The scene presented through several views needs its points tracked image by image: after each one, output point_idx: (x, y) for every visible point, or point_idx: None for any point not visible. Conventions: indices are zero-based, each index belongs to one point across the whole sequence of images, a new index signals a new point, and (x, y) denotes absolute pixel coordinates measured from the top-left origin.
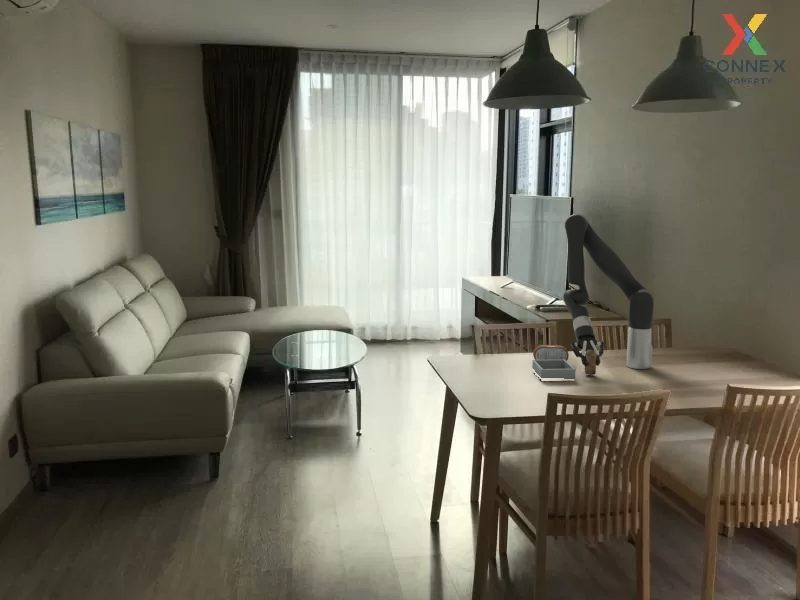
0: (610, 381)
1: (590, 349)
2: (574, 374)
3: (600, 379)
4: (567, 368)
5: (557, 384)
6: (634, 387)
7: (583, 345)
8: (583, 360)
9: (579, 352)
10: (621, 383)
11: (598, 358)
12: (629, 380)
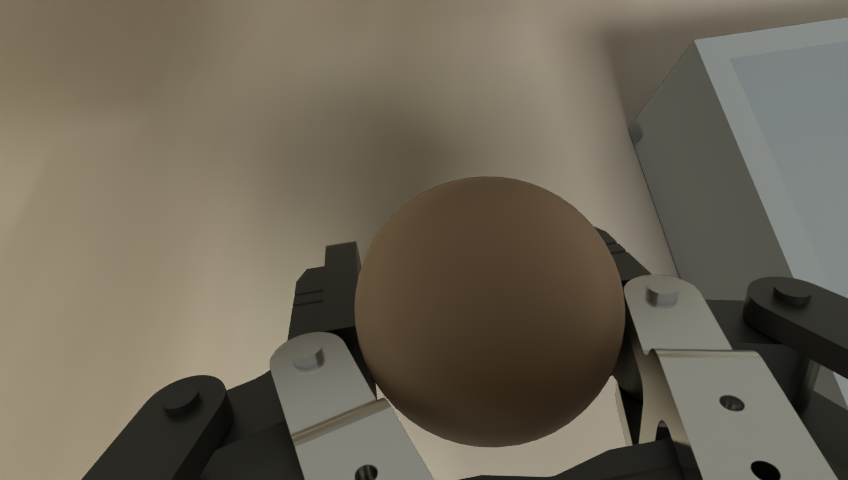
0: (261, 169)
1: (519, 295)
2: (669, 82)
3: (352, 227)
4: None
5: None
6: (89, 18)
7: (818, 472)
8: (609, 248)
9: (780, 311)
10: (167, 117)
11: (317, 317)
12: (37, 228)
